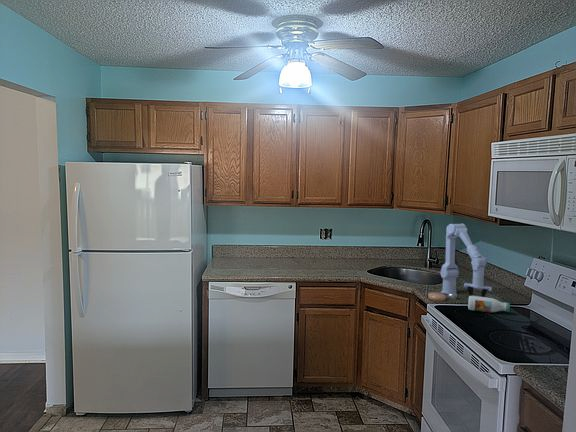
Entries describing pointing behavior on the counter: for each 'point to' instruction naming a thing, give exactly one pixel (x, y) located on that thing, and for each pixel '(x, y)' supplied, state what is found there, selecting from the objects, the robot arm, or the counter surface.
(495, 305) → the milk bottle
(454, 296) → the grey tin
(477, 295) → the walnut cube
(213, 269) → the counter surface
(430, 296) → the tan round disc
